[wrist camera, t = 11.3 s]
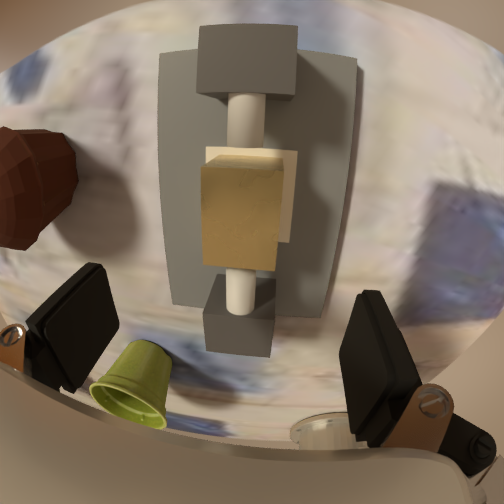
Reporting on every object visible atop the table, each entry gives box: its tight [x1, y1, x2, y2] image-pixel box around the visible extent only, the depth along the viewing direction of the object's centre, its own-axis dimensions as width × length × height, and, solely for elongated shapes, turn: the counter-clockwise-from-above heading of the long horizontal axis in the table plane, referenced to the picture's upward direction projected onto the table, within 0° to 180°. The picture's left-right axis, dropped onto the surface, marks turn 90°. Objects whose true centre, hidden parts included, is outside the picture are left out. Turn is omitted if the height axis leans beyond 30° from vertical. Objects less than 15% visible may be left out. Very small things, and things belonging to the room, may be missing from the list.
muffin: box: [0, 126, 79, 251], centre depth 17 cm, size 12×11×10 cm
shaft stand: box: [158, 24, 357, 358], centre depth 18 cm, size 14×22×6 cm, turn 178°
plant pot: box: [89, 340, 172, 430], centre depth 28 cm, size 9×9×9 cm
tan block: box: [201, 155, 284, 271], centre depth 17 cm, size 4×6×5 cm
